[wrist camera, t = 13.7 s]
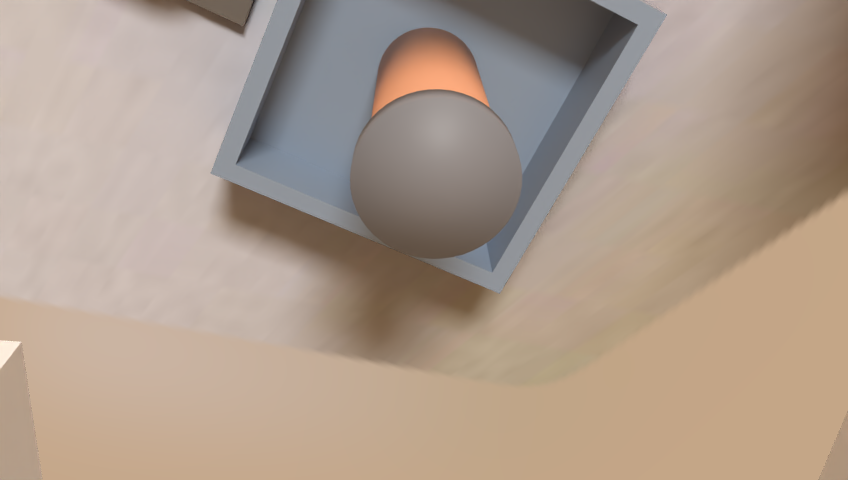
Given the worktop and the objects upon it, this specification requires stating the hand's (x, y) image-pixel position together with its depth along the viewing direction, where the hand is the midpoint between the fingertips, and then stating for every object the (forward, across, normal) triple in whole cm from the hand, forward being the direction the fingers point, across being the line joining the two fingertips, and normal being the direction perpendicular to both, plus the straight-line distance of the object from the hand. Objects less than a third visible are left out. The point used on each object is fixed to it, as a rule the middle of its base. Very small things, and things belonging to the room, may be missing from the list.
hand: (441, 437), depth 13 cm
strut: (+24, 0, -1) cm, 24 cm away
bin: (+25, 0, 0) cm, 25 cm away
